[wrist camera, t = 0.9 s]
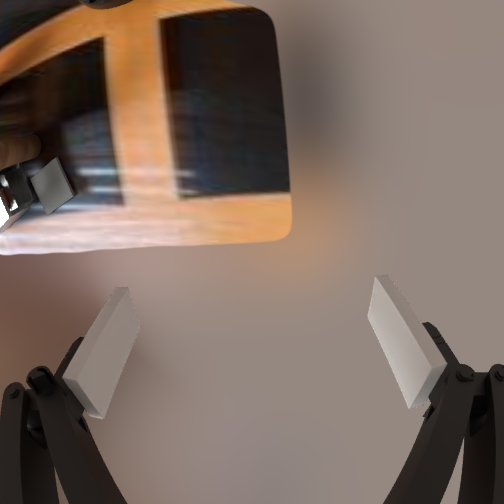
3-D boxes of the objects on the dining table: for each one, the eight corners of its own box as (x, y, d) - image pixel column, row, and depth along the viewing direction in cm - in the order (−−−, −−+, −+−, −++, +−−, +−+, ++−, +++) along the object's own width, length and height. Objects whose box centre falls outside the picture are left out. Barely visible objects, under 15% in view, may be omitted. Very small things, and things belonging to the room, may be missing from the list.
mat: (32, 178, 36) (30, 179, 36) (57, 157, 35) (55, 157, 35) (49, 214, 39) (47, 215, 39) (75, 195, 38) (73, 196, 38)
